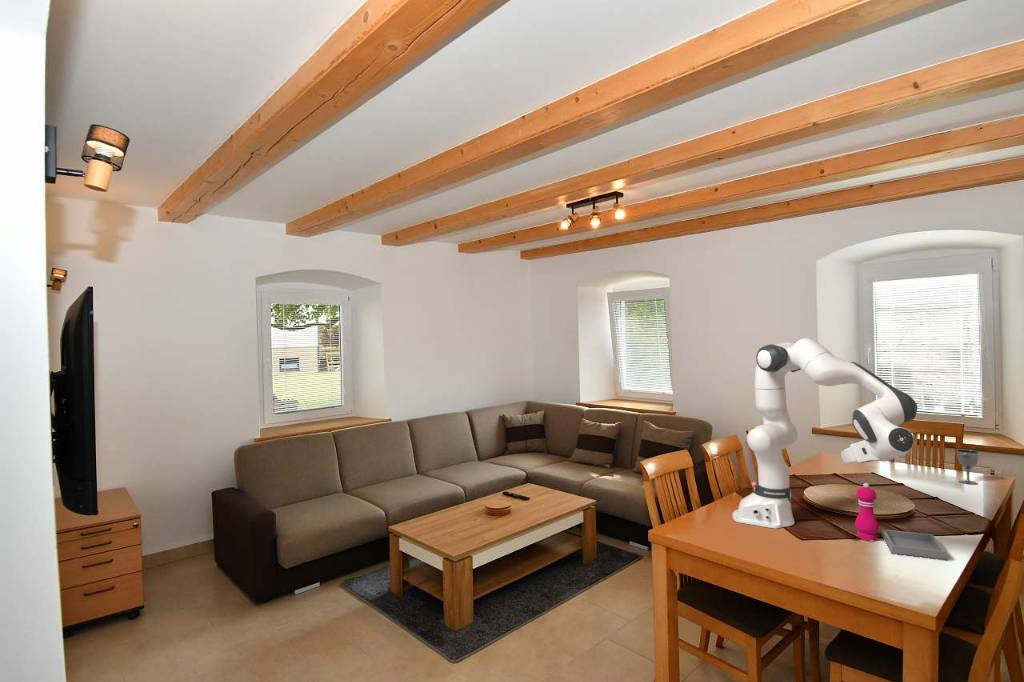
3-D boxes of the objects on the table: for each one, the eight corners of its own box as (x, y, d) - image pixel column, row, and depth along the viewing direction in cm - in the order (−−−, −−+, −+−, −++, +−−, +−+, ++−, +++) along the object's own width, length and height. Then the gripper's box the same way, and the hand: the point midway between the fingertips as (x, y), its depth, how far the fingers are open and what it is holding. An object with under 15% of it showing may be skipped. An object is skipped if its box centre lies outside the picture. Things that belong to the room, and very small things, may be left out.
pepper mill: (882, 542, 192) (882, 486, 192) (860, 541, 194) (859, 485, 193) (873, 534, 199) (872, 480, 199) (851, 533, 201) (850, 480, 200)
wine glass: (964, 485, 253) (963, 453, 253) (953, 480, 261) (953, 449, 261) (983, 485, 252) (983, 453, 252) (972, 480, 260) (971, 449, 259)
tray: (891, 554, 182) (891, 545, 182) (881, 536, 197) (881, 529, 197) (947, 560, 176) (946, 552, 176) (932, 542, 191) (932, 534, 191)
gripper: (910, 430, 179) (894, 437, 192) (845, 445, 182) (833, 451, 195) (920, 449, 177) (902, 455, 189) (854, 463, 180) (841, 469, 192)
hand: (867, 453), depth 192 cm, fingers open, 8 cm apart
